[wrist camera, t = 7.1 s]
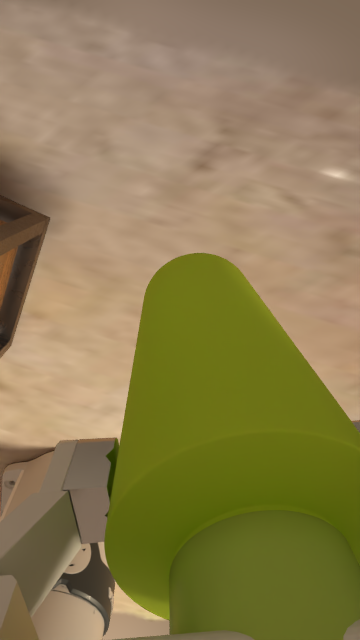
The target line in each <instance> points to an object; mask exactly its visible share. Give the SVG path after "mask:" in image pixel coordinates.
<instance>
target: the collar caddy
mask: <svg viewBox="0 0 360 640" xmlns="http://www.w3.org/2000/svg"><path fill="white" fill-rule="evenodd" d="M49 221H50V217H47V216H45V215H43V214H41V213H38V212H36V211H34V210H32V209H29V208H27V207H25V206H23V205H20V204H18V203H16V202H14V201H11V200H9V199H7V198H5V197H2V196H0V358H1V357H2V356H3V354H4V353H5V352H6V351H7V350H8V349H9V348H10V346H11V344H12V341H13V338H14V334H15V331H16V328H17V325H18V321H19V318H20V315H21V312H22V308H23V305H24V302H25V299H26V295H27V292H28V289H29V286H30V282H31V279H32V276H33V273H34V269H35V266H36V263H37V260H38V256H39V253H40V250H41V247H42V243H43V240H44V237H45V234H46V230H47V227H48V224H49Z"/></svg>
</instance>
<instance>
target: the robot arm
mask: <svg viewBox="0 0 360 640" xmlns="http://www.w3.org/2000/svg"><path fill="white" fill-rule="evenodd" d="M351 422H352V423H353V424H354V426H355V427H356V428H357V430H358V431H359V432H360V420H357V421H351ZM118 451H119V443H118V439H117V438H98V439H79V440H63V441H60V442H59V443H58V444H57V445H56V448H55V450H54V451H52V452H49V453H46V454H44V455H42V456H40V457H38V458H36V459H34V460H32V461H29V462H21V463H14V464H10V465H8V466H7V467H6V468H5V470H4V473H3V476H2V493H1V513H0V640H102V639H103V636H104V635H105V634H106V632H107V630H108V627H109V622H110V616H111V614H112V611H113V604H114V589H115V582H116V581H115V579H114V578H113V576H112V574H111V572H110V570H109V567H108V564H107V561H106V556H105V549H104V538H105V530H106V523H107V517H108V511H109V505H110V499H111V493H112V487H113V481H114V475H115V469H116V463H117V457H118ZM115 640H254V639H253V638H252V637H250V636H247V635H245V634H241V633H239V632H234V631H227V630H221V631H208V632H197V633H185V634H173V635H162V636H150V637H138V638H126V639H115ZM343 640H360V619H359V620H357V621H355V622H354V623H353V624H352V625H351V626H349V627H348V628H347V630H346V632H345V634H344V637H343Z"/></svg>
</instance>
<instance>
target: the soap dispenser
mask: <svg viewBox="0 0 360 640" xmlns="http://www.w3.org/2000/svg"><path fill="white" fill-rule="evenodd" d="M104 549H105V556H106V561H107V564H108V567H109V570H110V572H111V574H112V576H113V578H114V579H115V581H116V582H117V584H118V585H119V587H120V588H121V589H122V590H123V591H124V592H125V593H126V594H127V595H128V596H129V597H130V598H131V599H132V600H133V601H134V602H136V603H137V604H138V605H140V606H141V607H143V608H144V609H146V610H148V611H150V612H151V613H153V614H155V615H157V616H160V617H162V618H164V619H167V620H169V621H170V635H173V634H185V633H197V632H208V631H221V630H227V631H234V632H239V633H241V634H245V635H247V636H250V637H252V638H253V639H254V640H343V637H344V634H345V632H346V630H347V628H348V627H349V626H351V625H352V624H353V623H354V622H355V621H357V620H359V619H360V432H359V431H358V430H357V428H356V427H355V426H354V424H353V423H352V422H351V420H350V419H349V418H348V416H347V415H346V413H345V412H344V411H343V409H342V408H341V407H340V405H339V404H338V403H337V401H336V400H335V399H334V397H333V396H332V394H331V393H330V392H329V390H328V389H327V388H326V386H325V385H324V384H323V382H322V381H321V380H320V378H319V377H318V375H317V374H316V373H315V371H314V370H313V369H312V367H311V366H310V365H309V363H308V362H307V361H306V359H305V358H304V356H303V355H302V354H301V352H300V351H299V350H298V348H297V347H296V346H295V344H294V343H293V342H292V340H291V339H290V337H289V336H288V335H287V333H286V332H285V331H284V329H283V328H282V327H281V325H280V324H279V323H278V321H277V320H276V318H275V317H274V316H273V314H272V313H271V312H270V310H269V309H268V308H267V306H266V305H265V303H264V302H263V301H262V299H261V298H260V297H259V295H258V294H257V293H256V291H255V290H254V289H253V287H252V286H251V284H250V283H249V282H248V280H247V279H246V278H245V276H244V275H243V274H242V272H241V271H240V270H239V269H238V268H237V267H236V266H235V265H233V264H232V263H231V262H229V261H228V260H226V259H224V258H222V257H219V256H216V255H212V254H206V253H193V254H187V255H183V256H180V257H178V258H175V259H173V260H171V261H170V262H168V263H167V264H165V265H164V266H163V267H161V268H160V269H159V270H158V271H157V272H156V274H155V275H154V276H153V278H152V279H151V281H150V282H149V284H148V287H147V289H146V292H145V296H144V302H143V308H142V314H141V320H140V326H139V332H138V338H137V344H136V350H135V356H134V362H133V368H132V374H131V380H130V386H129V392H128V398H127V404H126V410H125V416H124V422H123V428H122V434H121V440H120V445H119V451H118V457H117V463H116V469H115V475H114V481H113V487H112V493H111V499H110V505H109V511H108V517H107V523H106V530H105V538H104Z"/></svg>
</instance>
